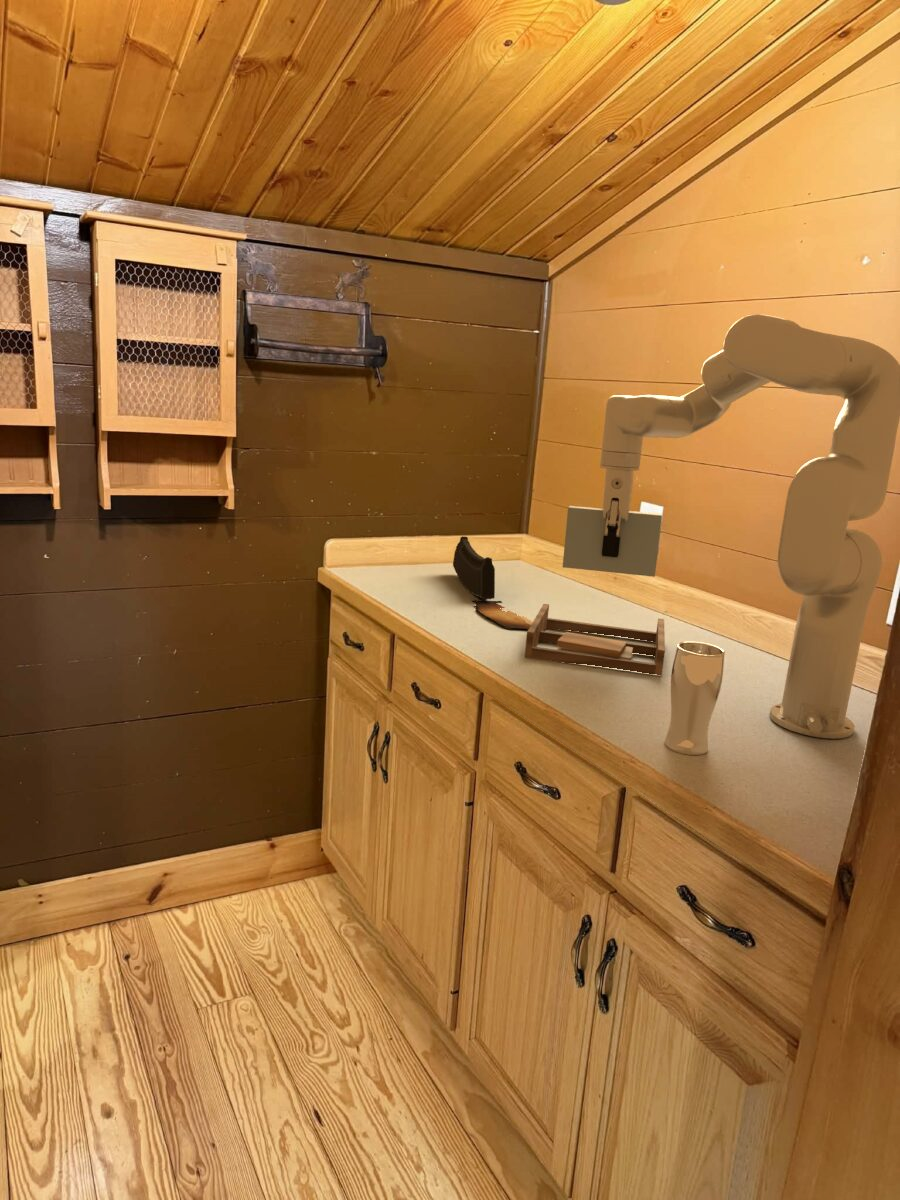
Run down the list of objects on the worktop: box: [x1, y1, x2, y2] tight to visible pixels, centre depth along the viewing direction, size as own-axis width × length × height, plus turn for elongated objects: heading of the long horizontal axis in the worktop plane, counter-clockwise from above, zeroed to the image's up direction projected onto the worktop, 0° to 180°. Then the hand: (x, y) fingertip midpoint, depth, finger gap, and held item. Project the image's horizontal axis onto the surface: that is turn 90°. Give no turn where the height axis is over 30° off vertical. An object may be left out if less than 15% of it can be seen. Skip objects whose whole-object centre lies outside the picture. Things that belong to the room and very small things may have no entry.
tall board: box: [562, 505, 663, 578], centre depth 165 cm, size 3×18×12 cm, turn 76°
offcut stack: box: [556, 631, 634, 660], centre depth 161 cm, size 8×14×4 cm, turn 72°
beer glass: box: [664, 641, 726, 756], centre depth 120 cm, size 7×7×15 cm
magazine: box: [452, 536, 496, 600], centre depth 209 cm, size 17×3×30 cm
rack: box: [524, 603, 666, 676], centre depth 166 cm, size 24×25×5 cm
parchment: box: [471, 599, 533, 631], centre depth 187 cm, size 25×10×1 cm, turn 19°
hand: (610, 554), depth 166 cm, fingers closed on tall board, 3 cm apart
